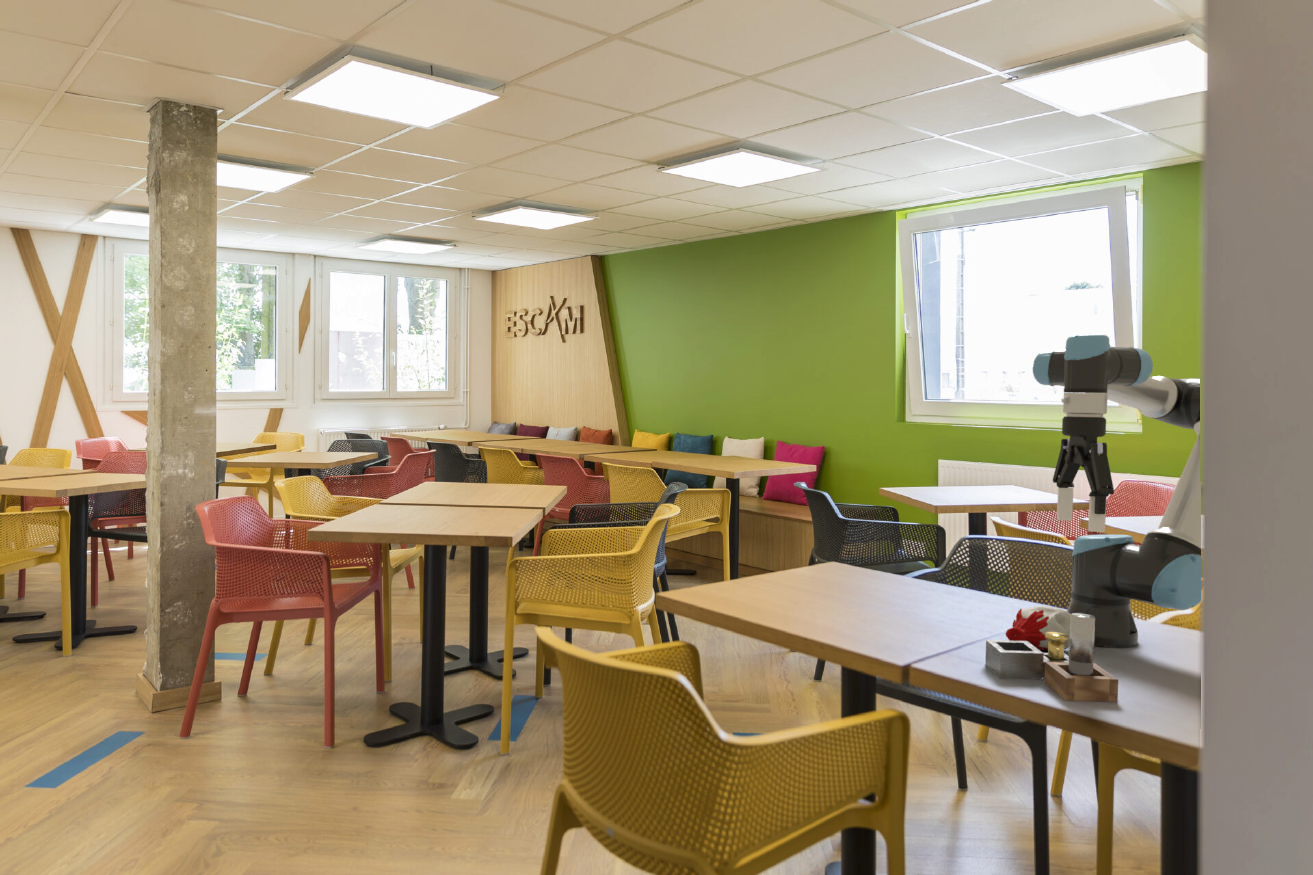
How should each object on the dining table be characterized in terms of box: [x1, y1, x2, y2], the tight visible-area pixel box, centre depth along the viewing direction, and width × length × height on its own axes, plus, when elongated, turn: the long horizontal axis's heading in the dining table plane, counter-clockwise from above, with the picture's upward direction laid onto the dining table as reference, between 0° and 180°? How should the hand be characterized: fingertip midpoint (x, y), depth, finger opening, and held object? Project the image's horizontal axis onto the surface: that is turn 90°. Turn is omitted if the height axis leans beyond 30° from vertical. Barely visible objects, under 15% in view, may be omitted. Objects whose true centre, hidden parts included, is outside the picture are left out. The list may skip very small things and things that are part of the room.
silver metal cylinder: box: [1068, 613, 1095, 676], centre depth 154 cm, size 4×4×14 cm
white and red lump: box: [1005, 605, 1071, 651], centre depth 181 cm, size 9×11×15 cm
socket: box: [984, 639, 1069, 680], centre depth 165 cm, size 15×8×5 cm, turn 88°
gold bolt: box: [1045, 632, 1068, 661], centre depth 165 cm, size 4×4×7 cm
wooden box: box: [1044, 662, 1119, 703], centre depth 154 cm, size 9×9×4 cm
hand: (1079, 525), depth 164 cm, fingers open, 13 cm apart
